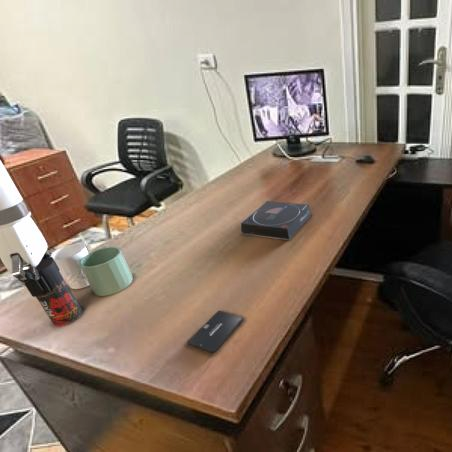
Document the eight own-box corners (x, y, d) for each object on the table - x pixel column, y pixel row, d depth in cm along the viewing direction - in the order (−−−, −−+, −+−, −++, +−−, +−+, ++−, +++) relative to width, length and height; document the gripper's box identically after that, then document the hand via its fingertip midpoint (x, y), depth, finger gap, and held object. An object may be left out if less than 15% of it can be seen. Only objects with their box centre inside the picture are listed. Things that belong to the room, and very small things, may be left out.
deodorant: (48, 328, 81) (13, 276, 73) (61, 310, 86) (30, 260, 79) (75, 323, 81) (43, 271, 74) (86, 306, 86) (58, 256, 79)
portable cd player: (267, 210, 125) (265, 200, 123) (311, 215, 119) (309, 204, 117) (241, 234, 112) (239, 223, 110) (289, 240, 106) (287, 228, 104)
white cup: (76, 294, 91) (58, 263, 86) (62, 285, 95) (44, 255, 90) (106, 277, 97) (91, 247, 92) (91, 270, 101) (76, 240, 96)
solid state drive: (187, 344, 72) (186, 342, 72) (219, 312, 80) (218, 310, 80) (213, 354, 70) (212, 351, 69) (243, 319, 77) (243, 317, 77)
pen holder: (91, 300, 88) (75, 271, 84) (96, 280, 96) (82, 253, 92) (131, 288, 91) (118, 260, 87) (134, 269, 99) (122, 243, 95)
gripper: (-2, 202, 76) (38, 268, 84) (-39, 238, 62) (14, 313, 70) (39, 194, 78) (74, 259, 87) (12, 227, 64) (57, 300, 73)
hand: (47, 282), depth 79 cm, fingers open, 7 cm apart
